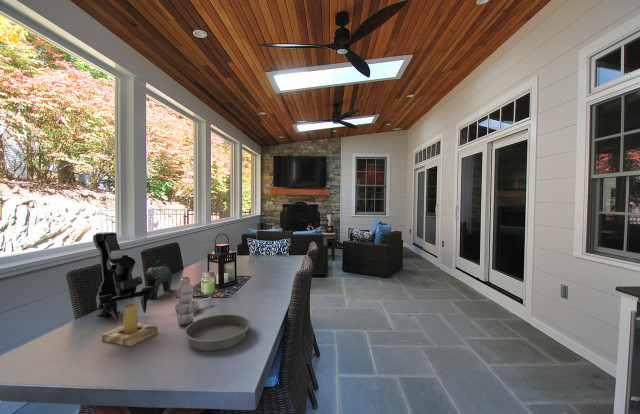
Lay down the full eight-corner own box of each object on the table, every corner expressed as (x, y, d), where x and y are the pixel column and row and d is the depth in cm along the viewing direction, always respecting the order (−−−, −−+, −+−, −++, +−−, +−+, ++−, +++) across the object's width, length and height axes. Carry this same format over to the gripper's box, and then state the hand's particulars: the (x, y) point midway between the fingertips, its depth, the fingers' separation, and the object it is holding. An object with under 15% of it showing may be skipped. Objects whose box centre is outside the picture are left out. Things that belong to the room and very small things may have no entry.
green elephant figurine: (154, 300, 151) (154, 263, 151) (142, 300, 151) (142, 263, 151) (173, 289, 171) (173, 256, 171) (163, 289, 171) (163, 256, 171)
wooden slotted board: (101, 341, 107) (101, 334, 107) (130, 327, 118) (130, 321, 118) (130, 346, 103) (130, 339, 103) (157, 332, 114) (157, 325, 114)
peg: (121, 339, 108) (121, 308, 108) (126, 334, 112) (126, 304, 112) (134, 338, 109) (134, 307, 109) (139, 333, 113) (139, 303, 113)
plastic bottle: (197, 321, 125) (197, 276, 125) (185, 327, 119) (185, 280, 118) (185, 319, 127) (185, 275, 127) (173, 325, 121) (173, 279, 120)
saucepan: (170, 312, 135) (170, 304, 135) (205, 302, 150) (205, 295, 150) (181, 318, 129) (181, 309, 129) (216, 306, 143) (216, 299, 143)
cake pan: (263, 332, 116) (263, 321, 116) (213, 361, 94) (213, 347, 94) (222, 319, 128) (222, 309, 128) (170, 342, 107) (170, 330, 107)
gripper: (98, 275, 106) (106, 312, 99) (153, 267, 120) (163, 298, 113) (93, 291, 111) (100, 327, 104) (146, 281, 125) (155, 312, 118)
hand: (131, 315), depth 110 cm, fingers open, 9 cm apart
